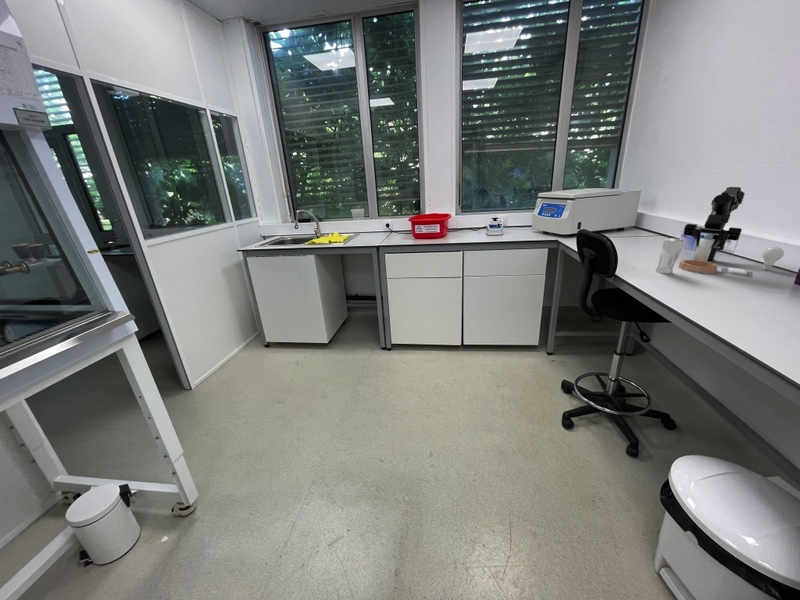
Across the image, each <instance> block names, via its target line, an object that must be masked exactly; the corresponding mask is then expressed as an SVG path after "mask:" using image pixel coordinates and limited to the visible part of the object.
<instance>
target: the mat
mask: <svg viewBox="0 0 800 600" xmlns="http://www.w3.org/2000/svg"><path fill="white" fill-rule="evenodd" d="M745 271H746V270H745ZM720 273H721V274H727V275H733V276H739V277H745V278H746V277H747V278H753V276H754V275H753V274H754V271H746V273H747V275H738V274H730V272H729V271H728V268H725V267H722V268H721V270H720Z"/></svg>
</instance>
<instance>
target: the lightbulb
mask: <svg viewBox="0 0 800 600" xmlns="http://www.w3.org/2000/svg"><path fill="white" fill-rule="evenodd" d="M784 254H785V252H784V249H782V248H781V247H778V246H770V247H767V248H765V249H764V250H763V251H762V254H761V257H762V258H763V266H762V267H761V270H762V271H765V272H766V271H768V272H769V271H771V269H772V267H773V265H774V264H775V263H776V262H778V261H779V260H780V259H782V258H783V257H784Z"/></svg>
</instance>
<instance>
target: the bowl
mask: <svg viewBox="0 0 800 600" xmlns="http://www.w3.org/2000/svg"><path fill="white" fill-rule="evenodd" d="M718 267H719V265H718V264H716V263H714V262H710V261H707V262H698V261H694V260H693V259H681V260H680V261H679V265H678V269H679V268H680V269H681V270H683V271H686V272H691V273H697V274H698V273H699V274H715V273H716V272H717V270H718Z"/></svg>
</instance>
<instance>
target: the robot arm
mask: <svg viewBox="0 0 800 600" xmlns="http://www.w3.org/2000/svg"><path fill="white" fill-rule="evenodd" d="M741 189H742V187H740V186H728V187H726V188H725V190H724V191H722V192H721V194H718V195H715V197H714V198H713V200H711V204H710V205H711V212H710V214H709V215H708V216H707V219H706V220H705V223H704V227H702V226H698V224H696V223H695V224H694V223H686V224H685V225H684V228H683V236H689V237H692V238H694V240H695V246H696V248H697V247H698V244H699V241H700V238H703V237H704V235H705V234H713V235H714V236H713V238H712V239H715V241H714V243H713V245H712V249H711V252H710V254H709V257H708V260H707V262H710V263H714V262H715V256H716V254H717V252H718V251H723V250H724V248H725V245H726V241H739V239H740V237H741V233H742V230H743V229H742V228H741V227H732V226H731V227H729V229H728V230H726V229H724V228H725V226H726V225H727V224H728V223H729V221H730V217H731V214H732V212H733V211H735V210H737V209H738V208H739V206H740V205H742V204H743V201H744V198H745V192H744V191H742V190H741ZM702 234H704V235H702Z"/></svg>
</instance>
